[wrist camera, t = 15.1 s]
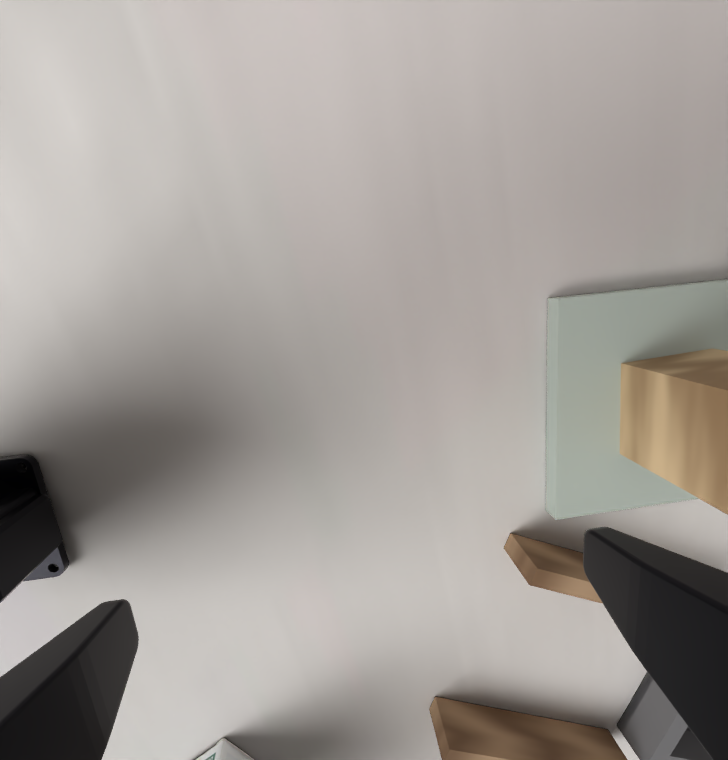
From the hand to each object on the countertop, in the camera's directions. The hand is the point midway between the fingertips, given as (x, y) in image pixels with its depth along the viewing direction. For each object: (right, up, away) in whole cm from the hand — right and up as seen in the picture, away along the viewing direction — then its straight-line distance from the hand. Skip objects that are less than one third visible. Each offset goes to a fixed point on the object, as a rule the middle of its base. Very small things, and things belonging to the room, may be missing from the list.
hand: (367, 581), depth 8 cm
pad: (+16, +3, +14) cm, 21 cm away
